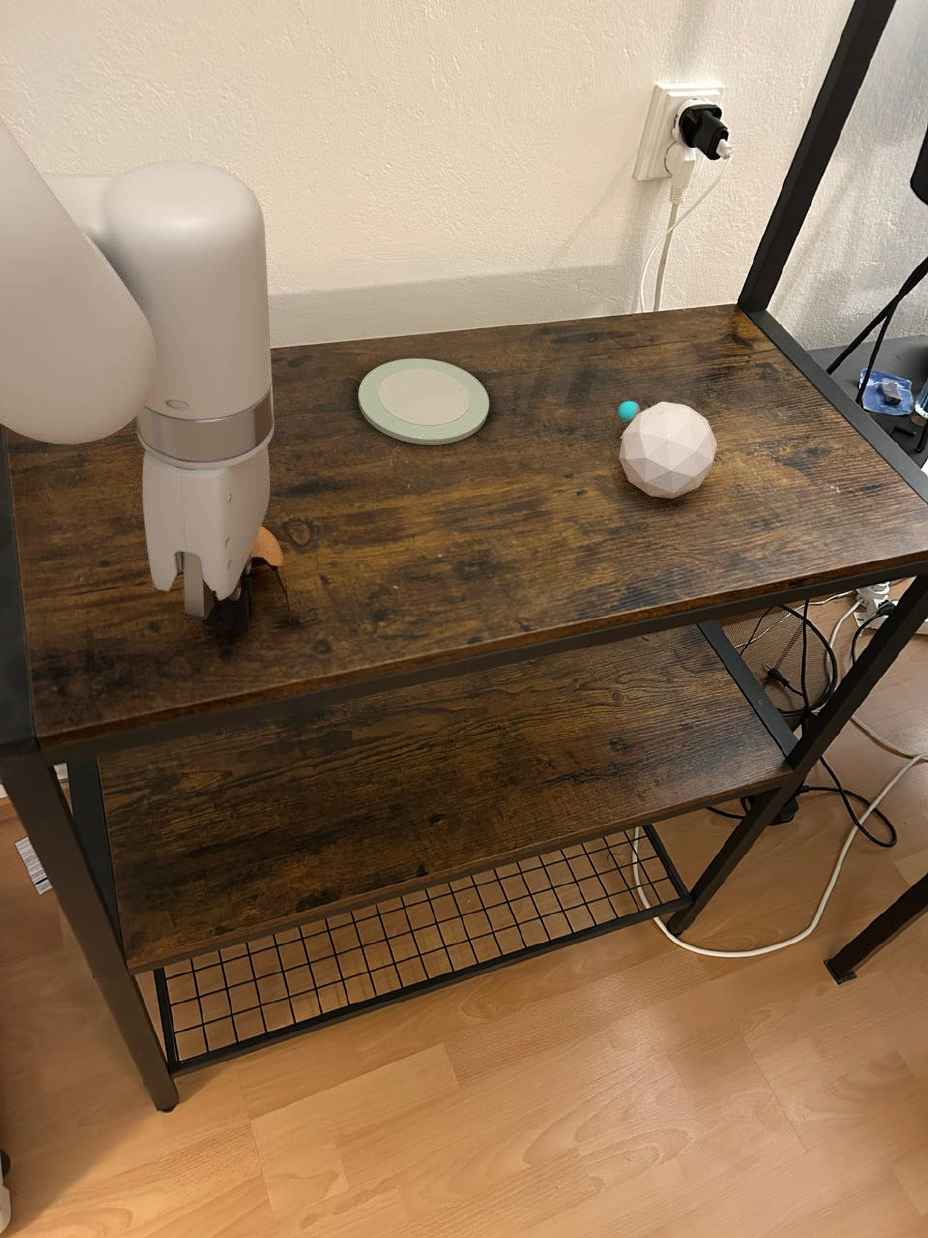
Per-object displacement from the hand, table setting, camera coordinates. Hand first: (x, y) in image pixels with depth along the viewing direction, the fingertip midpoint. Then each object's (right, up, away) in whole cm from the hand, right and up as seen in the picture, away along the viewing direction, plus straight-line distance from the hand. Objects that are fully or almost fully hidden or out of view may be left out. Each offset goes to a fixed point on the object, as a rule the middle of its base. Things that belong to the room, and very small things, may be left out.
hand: (228, 620), depth 67 cm
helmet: (0, +2, +5) cm, 5 cm away
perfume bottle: (+33, +13, +19) cm, 40 cm away
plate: (+13, +20, +22) cm, 32 cm away
